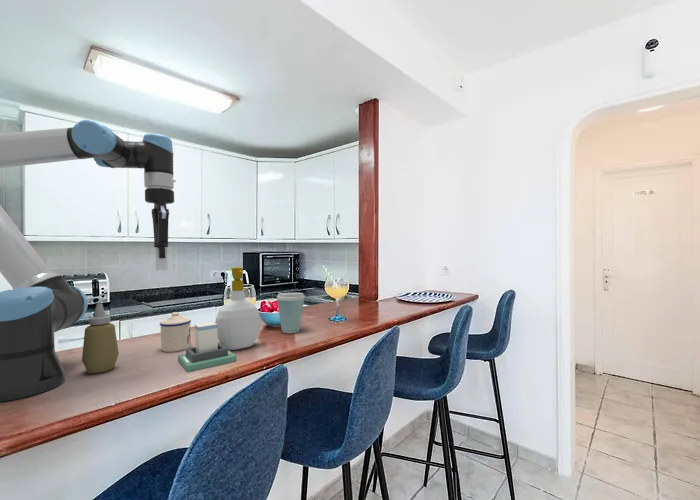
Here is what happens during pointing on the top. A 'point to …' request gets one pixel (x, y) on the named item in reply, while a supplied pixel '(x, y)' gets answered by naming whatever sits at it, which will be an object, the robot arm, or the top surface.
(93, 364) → the squeeze bottle
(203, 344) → the plug
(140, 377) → the top surface
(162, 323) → the teacup with lid
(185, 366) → the header board
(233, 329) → the white round bottle
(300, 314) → the disposable coffee cup
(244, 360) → the top surface
